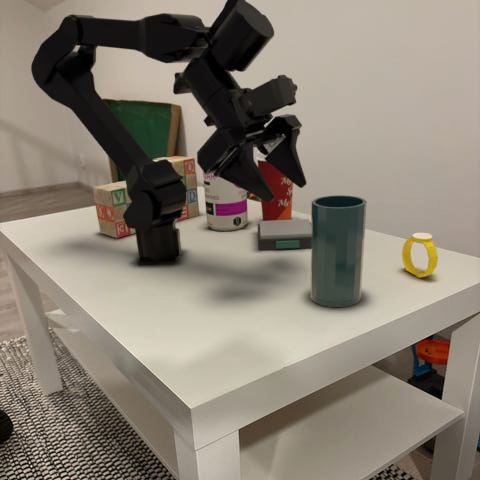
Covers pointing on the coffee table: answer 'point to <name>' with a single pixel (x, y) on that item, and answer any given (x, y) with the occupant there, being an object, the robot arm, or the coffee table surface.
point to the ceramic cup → (337, 249)
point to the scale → (284, 234)
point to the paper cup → (276, 192)
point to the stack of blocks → (117, 201)
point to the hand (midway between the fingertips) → (288, 193)
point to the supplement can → (224, 204)
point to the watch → (431, 251)
